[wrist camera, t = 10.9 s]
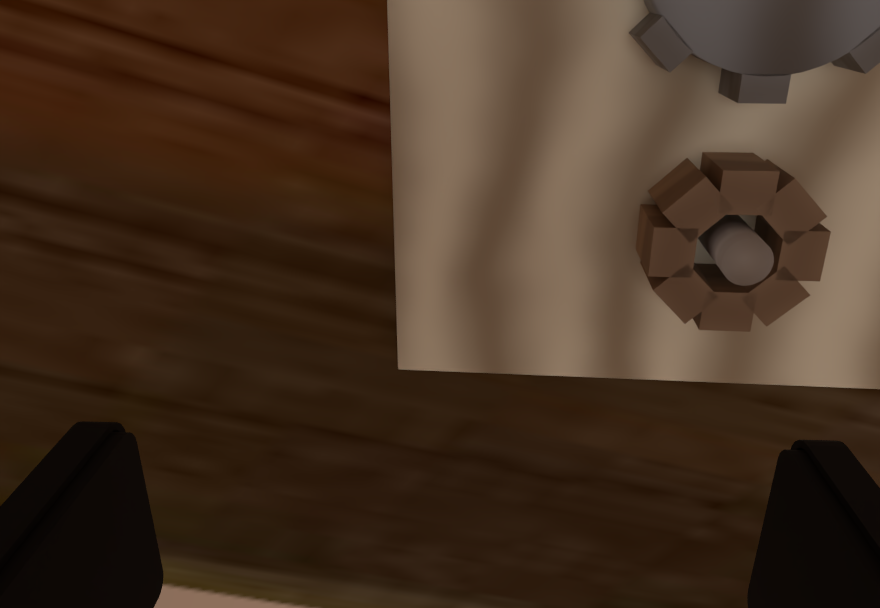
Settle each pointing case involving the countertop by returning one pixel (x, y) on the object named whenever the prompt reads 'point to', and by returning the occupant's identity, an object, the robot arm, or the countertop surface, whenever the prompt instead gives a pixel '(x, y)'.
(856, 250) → the gear board
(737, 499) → the countertop surface
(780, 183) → the walnut gear
